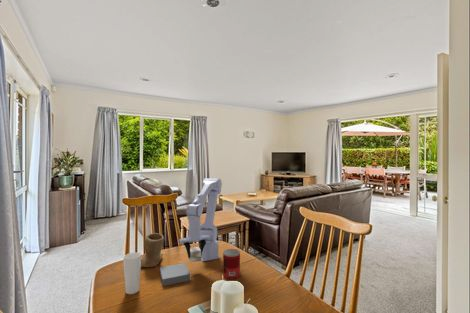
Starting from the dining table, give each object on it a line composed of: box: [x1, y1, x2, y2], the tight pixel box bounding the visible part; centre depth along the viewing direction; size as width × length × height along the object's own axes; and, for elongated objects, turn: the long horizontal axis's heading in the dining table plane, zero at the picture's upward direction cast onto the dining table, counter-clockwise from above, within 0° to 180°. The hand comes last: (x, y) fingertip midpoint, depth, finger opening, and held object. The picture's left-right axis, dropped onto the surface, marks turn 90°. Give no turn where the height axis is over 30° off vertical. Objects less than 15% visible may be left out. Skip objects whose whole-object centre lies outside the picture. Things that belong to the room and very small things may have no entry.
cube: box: [188, 246, 202, 263], centre depth 117 cm, size 5×5×5 cm
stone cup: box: [141, 232, 165, 268], centre depth 126 cm, size 15×12×15 cm
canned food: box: [222, 248, 241, 280], centre depth 112 cm, size 8×8×11 cm
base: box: [159, 262, 191, 287], centre depth 111 cm, size 12×12×3 cm
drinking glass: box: [123, 251, 142, 295], centre depth 99 cm, size 7×7×15 cm
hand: (194, 256), depth 117 cm, fingers closed on cube, 5 cm apart
